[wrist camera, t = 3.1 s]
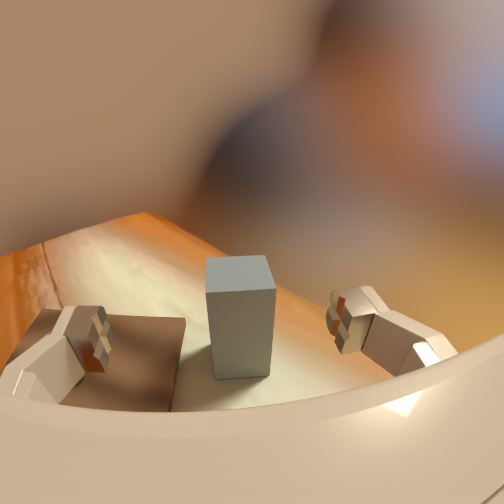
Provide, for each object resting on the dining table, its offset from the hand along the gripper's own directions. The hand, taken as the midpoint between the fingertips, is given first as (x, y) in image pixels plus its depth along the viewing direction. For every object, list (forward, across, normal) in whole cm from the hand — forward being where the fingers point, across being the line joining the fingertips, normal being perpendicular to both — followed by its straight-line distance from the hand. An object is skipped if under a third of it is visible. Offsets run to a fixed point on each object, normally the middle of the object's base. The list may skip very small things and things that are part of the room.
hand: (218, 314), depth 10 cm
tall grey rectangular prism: (+11, +2, -16) cm, 19 cm away
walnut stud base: (+8, -15, -16) cm, 23 cm away
